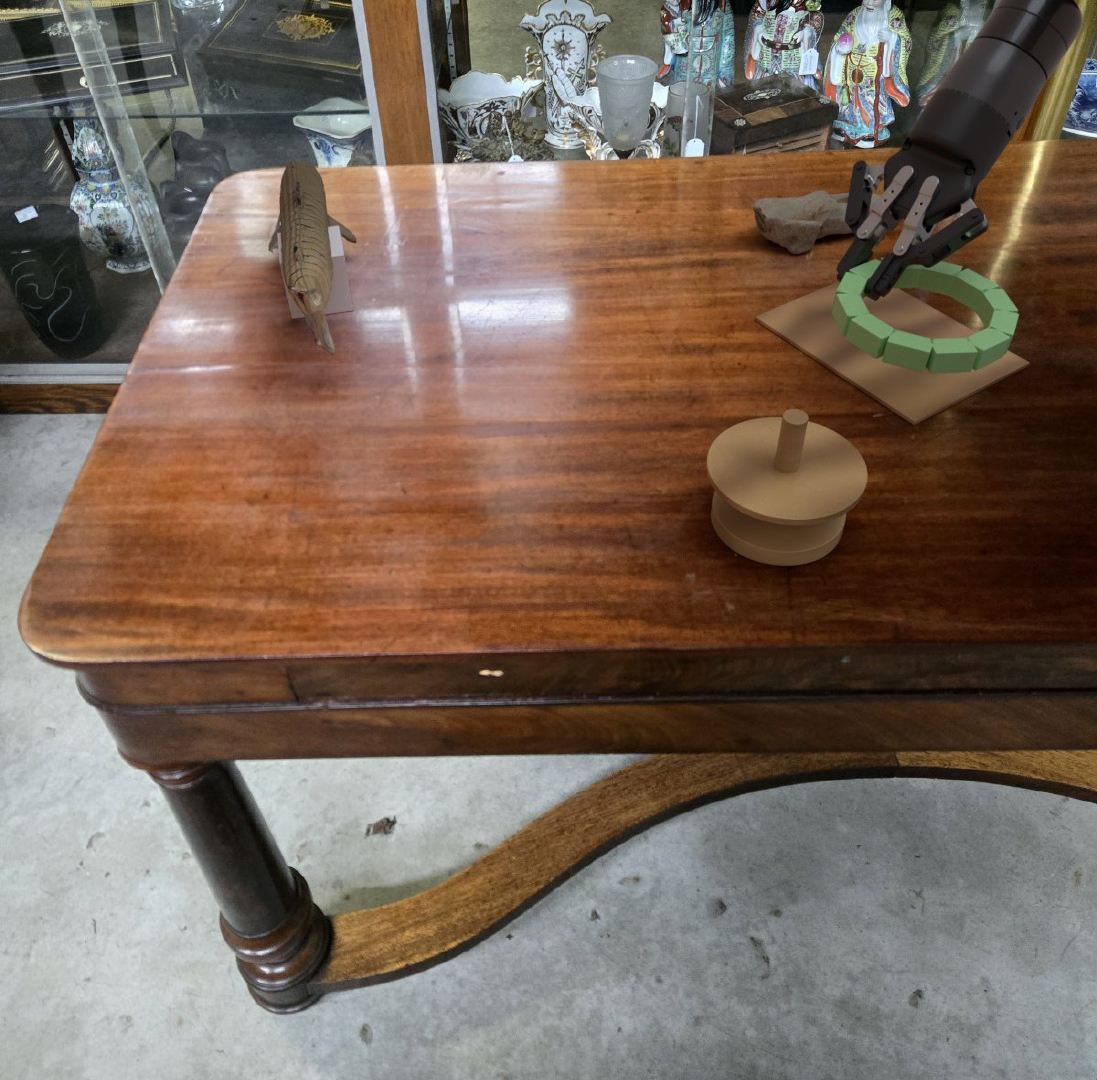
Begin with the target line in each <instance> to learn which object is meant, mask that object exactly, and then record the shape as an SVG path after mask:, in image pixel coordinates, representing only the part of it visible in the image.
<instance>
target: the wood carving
mask: <svg viewBox="0 0 1097 1080" xmlns="http://www.w3.org/2000/svg"><path fill="white" fill-rule="evenodd" d="M279 190H280V191H279V197H278V199H279V201H278V202H279V214H278V216H277V221H276V225H275V229H274V232H273V234H272V236H271V238H270V241H269V243H268V251H269V252H271V254H274V253H273V252H274V249H278V260H279V267H280V272H281V277H282V280H283V285H284V289H285V294H286V298H287V303H288V306H289V311H290V316H291V317H290V318H291V320H294V319H301V318H305V321H306V323H307V326H308V328H309V330H310V332H311V334H312V336H313V339H312V340H313V341H312V343H313V345H314V346H315V347H316V348H317V349H319V348H321V350H323V351H324V352H325V353H326V354H328V355H330V356H334V355H335V354H336V346H335V344H334V341H333V336H332V334H331V332H330V329H329V324H328V321H327V316H326V315H332V314H339V313H346V312H354V306H353V299H352V293H351V286H350V282H349V281H350V279H349V275H348V270H347V263H346V258H345V252H344V246H343V241H342V238H344V239H345V241H347V242H349V243H352V244H357V237H356V235H354V234H353V233H352V231H351V229H349V228H348V227H346V226H345V225H344V224H343V223H341V222H340V221H338V220H337V219H335V218H333V217H332V216H331V215H329V213H328V207H327V194H326V191H325V184H324V180H323V177H322V176H321V174H320V173H319V171H318V169H317V168H316V165H314V164H312V163H311V162H309V161H307V160H306V159H292V160H290V161H289V162H288V163H287V165H286V166H285V169H284V171H283V174H282V177H281V179H280V189H279ZM311 325H312V326H311Z"/></svg>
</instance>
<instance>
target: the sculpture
mask: <svg viewBox="0 0 1097 1080" xmlns="http://www.w3.org/2000/svg"><path fill="white" fill-rule="evenodd" d="M848 195H849V192H841V193H835V194H834V193H833V194H832V193H829V192H828V191H826V190H824V189H823V190H822V189H821V190H819V189H818V190H815V191H812V192H810V193H807V194H805V195H801V196H797V197H764V198H760V199H758V200H756V202H755V203H754V204H753V206H752V210H753V212H754V220H755V223H756V227H757V229H758V231H759V233H760V234H761V235H762V236H763V237H764V239H766V240H769V241H771V242H772V243H774V244H778V245H779V246H780V247H782V248H786V249H787V250H788V252H789V253H791V254H794V255H799V254H803V253H806V252H809V251H810V250H811V249H812V248H813V246H814V244H815V243H816V240H819V239H821V238H824V237H827V236H830V235H847V234H848V235H849V234H853V232H852V230H851V229H850V228H849V226H848V225H847V224H846V222H845V214H846V208H847V202H848ZM881 196H882V195H880V194H877V193H872V198H871V204H870V210H869V215H870V214H871V211H872V207H873V205H874V204H875V203H876V202H877V200H878V199H879V198H880V197H881Z"/></svg>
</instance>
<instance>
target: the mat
mask: <svg viewBox="0 0 1097 1080" xmlns="http://www.w3.org/2000/svg"><path fill="white" fill-rule="evenodd" d="M839 284H840V282H839V281H838V280H837V281H836V282H833V283H831V284H829V285H826V286H824V287H822V288H819V289H817V290H814V291H812V292H810V293H808V294H805V295H803V296H800V297H798V298H796V299H795V298H794V299H793V300H790V301H788V302H786V303H784V304H781V305H779V306H777V307H774V308H772V309H769V310H767V311H765V312H762V313H759V314H757V315H755V316H754V321H756V322H757V323H758V324H760V325H761V326H763V327H765V328H766V329H768V330H769V331H771V332H772V333H774V334H775V335H776V336H777V337H780V338H781V339H783V340H784V341H786V343H789V344H790V345H792V346H794V347H795V348H796V349H798V350H799V351H801V352H803V353H804V354H805V355H806V356H808V357H810V358H811V359H813V360H814V361H816V362H817V363H819V364H821V365H822V366H824V367H825V368H826V369H828V370H829V371H831V372H833V373H834V374H835V375H837V376H838V377H840V378H842V379H843V380H844V381H846V382H848V383H849V384H851V385H852V386H854V387H855V388H857V389H858V390H860V391H861V392H863V393H864V394H866V395H867V396H869V397H870V398H871V399H873V400H874V401H876V402H877V403H879V404H881V406H884V407H885V408H886V409H888V410H890V411H891V412H893V413H895V414H896V415H897V416H899V417H901V418H902V419H903V420H905V421H907V422H908V423H909V424H911V425H913V426H915V425H918V424H919V423H921V422H923V421H925V420H927V419H929V418H930V417H933V416H935V415H937V414H938V413H940V412H943V411H944V410H946V409H948V408H950V407H952V406H954V405H956V404H958V403H960V402H962V401H963V400H965V399H968V398H969V397H972V396H974V395H975V394H978V393H979V392H981V391H983V390H986V389H987V388H989V387H991V386H993V385H995V384H997V383H999V382H1000V381H1003V380H1004V379H1006V378H1008V377H1010V376H1012V375H1014V374H1016V373H1018V372H1019V371H1022V370H1024V369H1025V368H1027V367H1028V368H1029V366H1030V364H1031V362H1029V361H1028V360H1026V359H1025V358H1022V357H1021V356H1019V355H1017V354H1016V353H1013V352H1012V351H1010V350H1009V349H1008V350H1007V353H1006V354H1004V356H1003V357H1002V358H1001V359H999V360H997V361H995V362H993V363H991V364H989V365H987V366H985V367H983V368H981V369H979V370H977V371H975V370H974V369H971V372H961V373H933V374H930V373H929V371H928V369H927V368H926V367H925V370H924V372H923V373H922V372H918V371H914V370H910V369H907V368H903V367H899V366H895V365H892V364H888V363H884V362H882V358H883V356H882V357H879V358H877V359H875V358H873V357H872V356H870V355H869V354H867V353H866V352H864V351H863V350H861V349H859V348H858V347H856V346H855V345H853V344H852V343H850V342H849V341H847V340H846V336H842V334H841V332H840V330H839V328H838V326H837V323H836V321H835V319H834V317H833V315H832V306H833V302H834V298H835V294H836V290H837V288H838V286H839ZM862 300H863V302H864V304H865V305H866V307H867V309H868V311H869V313H870V314H871V315H873V316H875V317H876V318H878V319H879V320H881V321H883V322H884V323H886V324H887V325H889V326H891V327H892V328H894V329H895V330H899V331H903V332H906V333H910V334H914V335H918V336H922V337H926V338H930V339H946V338H967V337H969V336H971V335H973V334H975V333H977V332H978V331H977V332H976V331H975V330H973V329H971V328H969V327H968V326H966V325H965V324H962V323H960V322H959V321H957V320H956V319H953V318H951V316H948V315H947V314H945V313H943V312H941V311H939V310H937V309H936V308H934V307H932V306H931V305H929V304H927V303H925V302H924V301H922V300H920V299H918V298H917V297H915V296H913V295H912V294H910V293H908V292H906V291H904V290H902V289H901V288H894V289H891V291H890V292H889V294H887V295H886V296H885V297H882V296H880V298H879V299H878V300H877V301H874V300H872V299H870V298H868V297H864V298H863V299H862Z"/></svg>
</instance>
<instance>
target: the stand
mask: <svg viewBox="0 0 1097 1080" xmlns="http://www.w3.org/2000/svg"><path fill="white" fill-rule="evenodd" d="M809 420H810V417H809V415H808V413H807V412H805V411H804V410H802V409H799V408H789V409H787V410H785V411H784V412H783V413H782V416H767V417H758V418H753V419H748V420H744V421H741V422H739V423H736V424H734V425H732V426H730V427H729V428H727V429H725V430H724V431H722V432H721V433H720V434H719V435H718V436H717V437H716V438H715V439H714V440H713V441H712V443H711V445H710V447H709V449H708V452H707V456H706V464H705V465H706V466H705V468H706V469H705V470H706V475H707V478H708V480H709V483H710V485H711V487H712V489H713V490H714V492H713V496H712V503H711V511H710V519H711V524H712V527H713V529H714V532H715V533H716V535H717V537H718V538H719V539H720V540H721V541H722V542H723V543H724V545H726V546H727V547H728V548H729V549H731V550H732V551H733V552H735V553H736V554H738V555H740V556H741V557H744V558H746V559H749V560H752V561H754V562H756V563H760V564H764V565H770V566H778V567H781V566H782V567H792V566H793V567H794V566H802V565H805V564H809V563H810V564H811V563H813V562H815V561H818V560H820V559H822V558H824V557H825V556H827V555H829V554H830V553H831V552H832V551H833V550H834V549H835V548H836V547H837V545H838V544H839V542H840V541H841V539H842V535H843V531H844V528H845V523H846V520H847V513H849V512H850V511H851V510H852V509H853V508H855V507H856V506H857V505H858V504H859V502H860V501H861V500H862V498H863V496H864V494H865V491H866V487H867V483H868V476H869V475H868V474H869V473H868V468H867V465H866V462H865V459H864V458H863V456H862V454H861V453H860V451H859V450H858V449H857V448H856V446H854V444H852V443H851V442H850V441H849V440H847V438H845V437H844V436H842V435H841V434H839V433H838V432H836V431H834V430H832V429H830V428H828V427H826V426H823V425H821V424H819V423H816V422H813V421H809Z"/></svg>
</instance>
